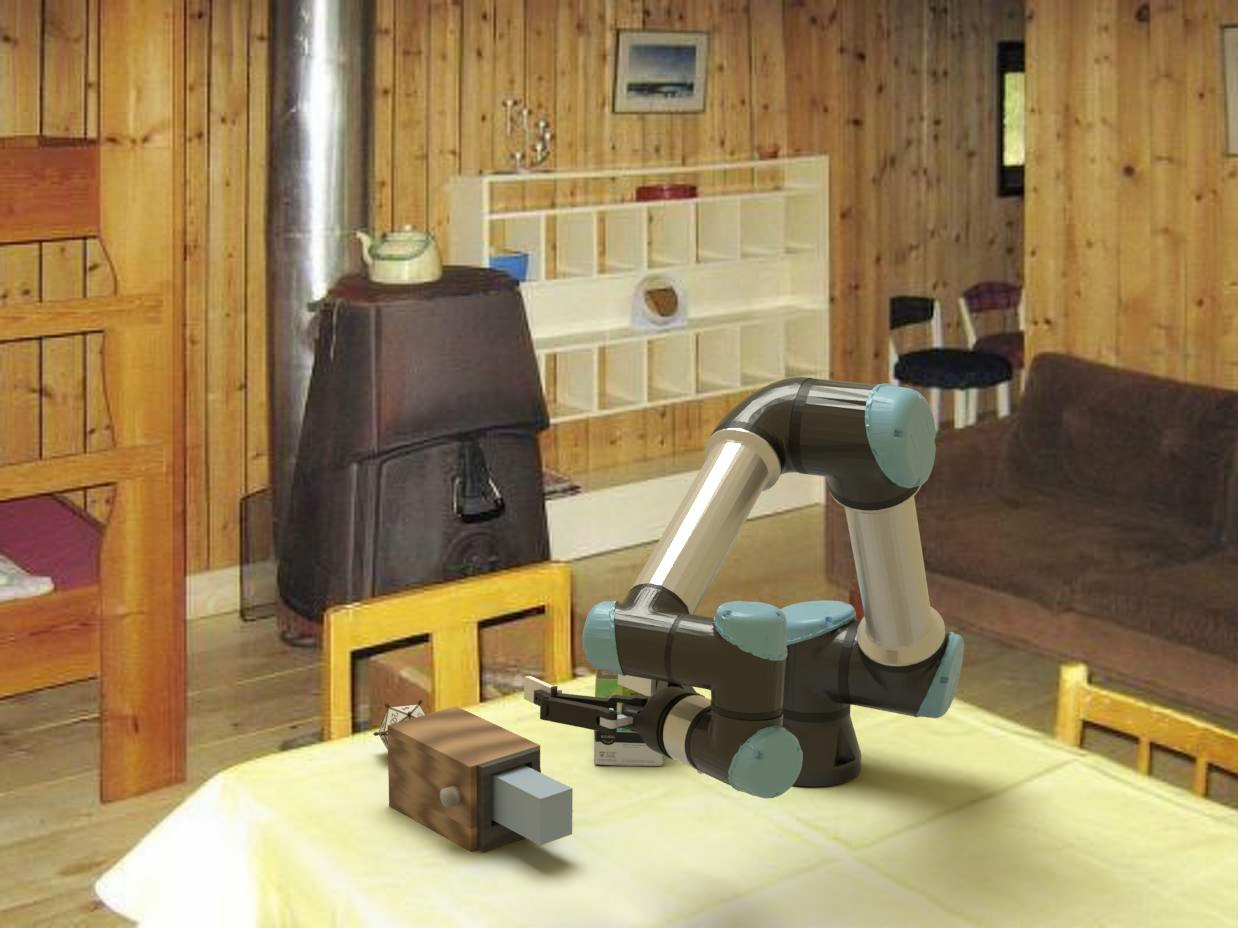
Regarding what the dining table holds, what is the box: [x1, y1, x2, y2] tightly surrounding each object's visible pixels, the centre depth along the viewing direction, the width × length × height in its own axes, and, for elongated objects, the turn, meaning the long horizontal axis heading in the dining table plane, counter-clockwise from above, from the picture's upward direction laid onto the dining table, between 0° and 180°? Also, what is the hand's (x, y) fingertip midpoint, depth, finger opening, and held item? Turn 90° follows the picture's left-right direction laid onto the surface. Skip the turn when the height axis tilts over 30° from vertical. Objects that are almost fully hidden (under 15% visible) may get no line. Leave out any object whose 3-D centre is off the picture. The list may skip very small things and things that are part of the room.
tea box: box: [593, 668, 664, 767], centre depth 252 cm, size 15×10×15 cm
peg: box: [491, 764, 573, 846], centre depth 220 cm, size 15×5×6 cm, turn 42°
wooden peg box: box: [387, 705, 542, 853], centre depth 228 cm, size 19×14×11 cm
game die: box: [372, 698, 426, 751], centre depth 248 cm, size 9×8×10 cm
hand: (574, 679), depth 210 cm, fingers open, 13 cm apart
